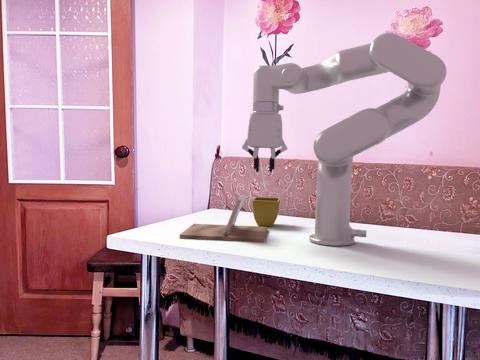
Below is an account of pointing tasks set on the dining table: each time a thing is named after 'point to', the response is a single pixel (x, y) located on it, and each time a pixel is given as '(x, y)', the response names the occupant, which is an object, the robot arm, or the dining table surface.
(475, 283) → the dining table surface
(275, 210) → the flower pot
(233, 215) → the tile
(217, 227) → the hinge board
